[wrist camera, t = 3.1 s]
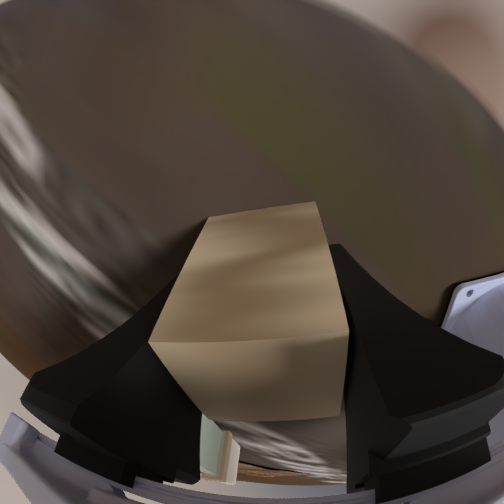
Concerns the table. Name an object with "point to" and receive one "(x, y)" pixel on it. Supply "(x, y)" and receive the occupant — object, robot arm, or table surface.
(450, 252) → the table surface
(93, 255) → the table surface
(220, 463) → the wall frame
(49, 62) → the table surface
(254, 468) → the wooden fragment
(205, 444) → the door
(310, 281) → the block
